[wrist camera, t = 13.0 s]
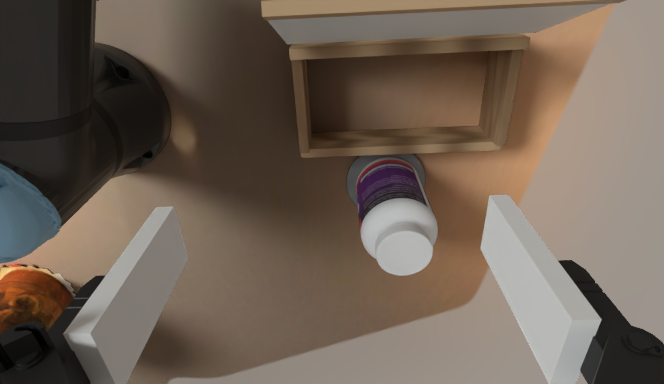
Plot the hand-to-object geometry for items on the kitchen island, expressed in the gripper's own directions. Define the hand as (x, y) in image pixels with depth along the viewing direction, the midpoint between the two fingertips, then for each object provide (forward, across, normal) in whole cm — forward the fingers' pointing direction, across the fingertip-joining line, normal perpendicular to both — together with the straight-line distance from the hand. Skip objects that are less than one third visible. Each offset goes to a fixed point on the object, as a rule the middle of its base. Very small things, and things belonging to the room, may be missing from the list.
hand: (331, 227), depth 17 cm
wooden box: (+32, +7, -3) cm, 33 cm away
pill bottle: (+31, +6, -15) cm, 35 cm away
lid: (+18, +7, +5) cm, 20 cm away
